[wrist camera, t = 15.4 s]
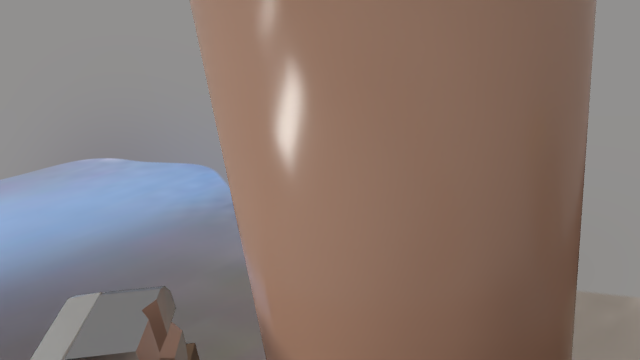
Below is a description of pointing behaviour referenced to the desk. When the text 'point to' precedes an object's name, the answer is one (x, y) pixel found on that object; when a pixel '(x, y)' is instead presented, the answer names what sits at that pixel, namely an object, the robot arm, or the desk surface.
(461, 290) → the wooden peg
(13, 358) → the desk surface
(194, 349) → the bar
